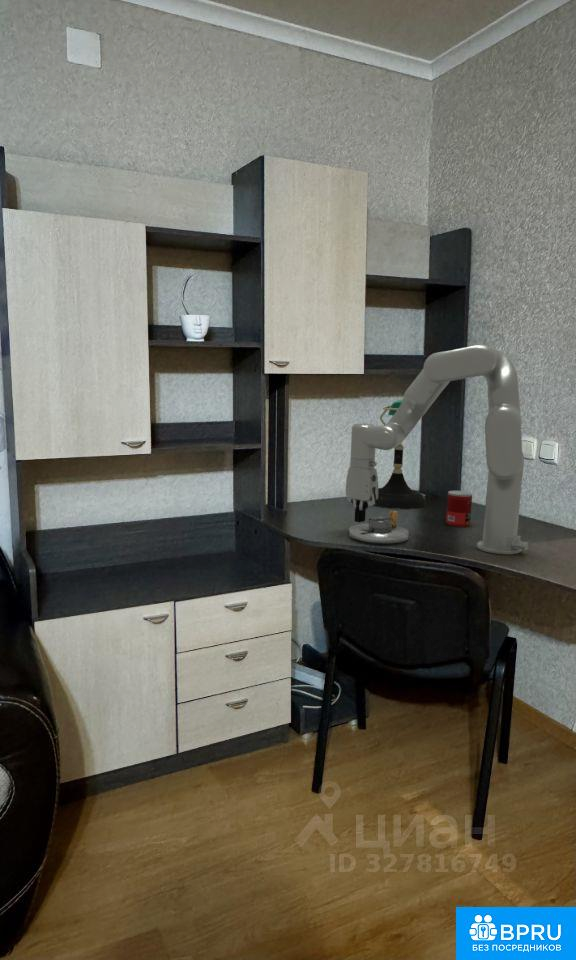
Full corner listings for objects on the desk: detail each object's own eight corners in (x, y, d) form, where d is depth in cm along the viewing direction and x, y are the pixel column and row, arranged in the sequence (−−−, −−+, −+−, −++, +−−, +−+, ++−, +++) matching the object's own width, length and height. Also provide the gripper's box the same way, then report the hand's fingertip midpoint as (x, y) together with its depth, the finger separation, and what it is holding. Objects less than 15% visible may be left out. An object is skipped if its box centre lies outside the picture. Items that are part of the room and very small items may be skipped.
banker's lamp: (421, 512, 253) (427, 402, 247) (359, 506, 260) (364, 399, 254) (430, 499, 278) (436, 399, 271) (373, 494, 285) (378, 396, 279)
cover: (396, 531, 212) (397, 517, 211) (381, 534, 207) (382, 519, 206) (378, 527, 217) (379, 512, 216) (363, 530, 212) (364, 515, 212)
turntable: (420, 537, 213) (421, 515, 212) (383, 546, 200) (384, 523, 199) (374, 526, 226) (375, 505, 224) (337, 534, 213) (337, 512, 212)
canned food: (470, 527, 231) (473, 495, 229) (446, 526, 232) (448, 493, 230) (469, 522, 238) (471, 491, 236) (445, 521, 240) (447, 489, 238)
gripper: (389, 465, 212) (386, 524, 215) (352, 459, 223) (350, 515, 226) (373, 467, 207) (370, 527, 210) (336, 461, 218) (334, 518, 221)
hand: (359, 521), depth 218 cm, fingers closed
